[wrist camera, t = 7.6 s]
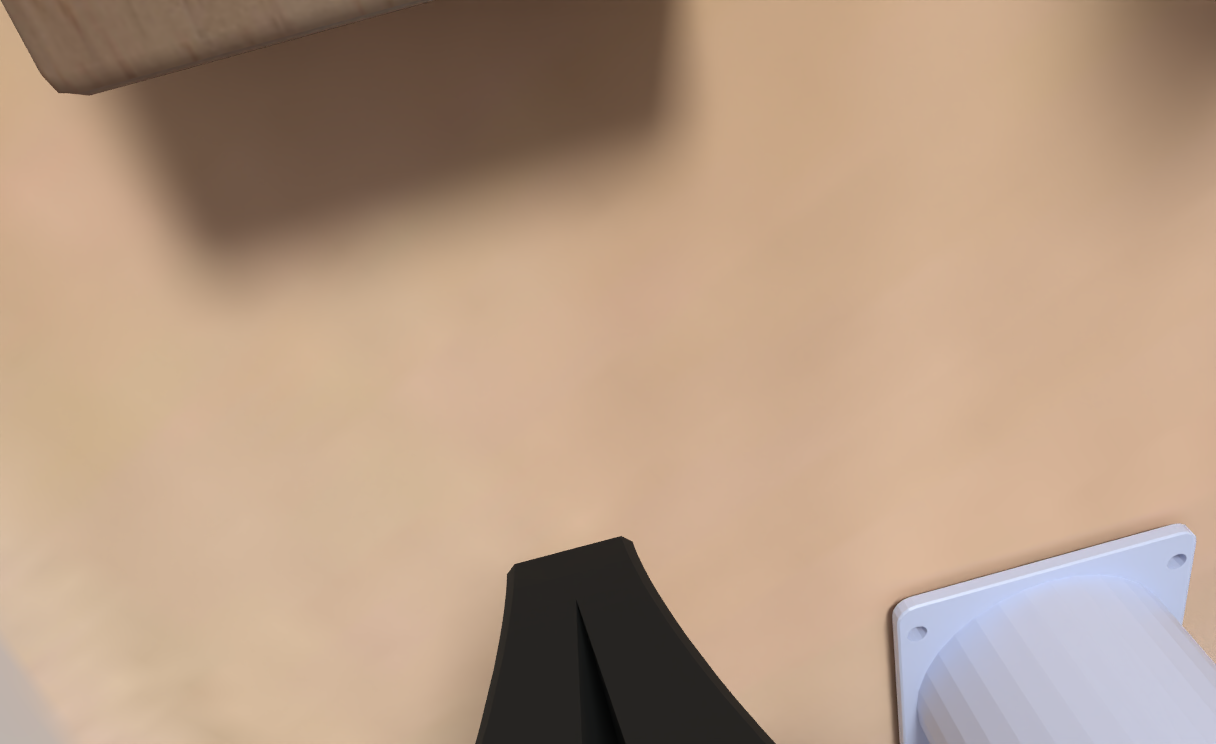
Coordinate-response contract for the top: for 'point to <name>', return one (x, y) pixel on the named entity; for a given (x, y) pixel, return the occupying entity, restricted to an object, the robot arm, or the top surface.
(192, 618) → the top surface
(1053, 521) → the top surface
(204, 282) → the top surface
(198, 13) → the wooden block
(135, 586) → the top surface
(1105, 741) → the robot arm
